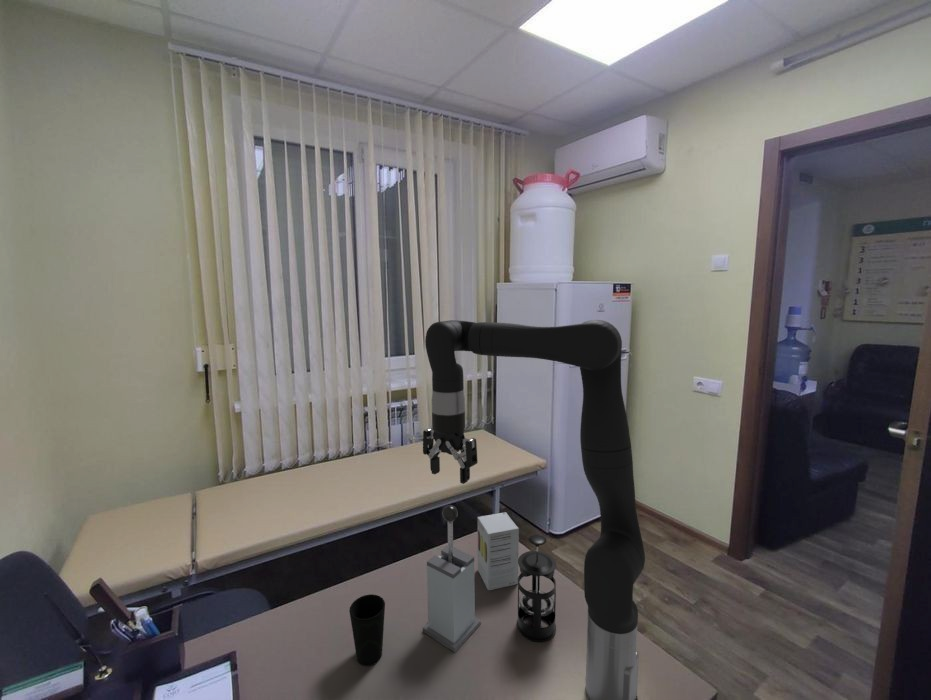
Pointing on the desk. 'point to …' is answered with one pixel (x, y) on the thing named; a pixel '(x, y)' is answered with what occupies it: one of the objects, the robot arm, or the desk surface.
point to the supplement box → (498, 550)
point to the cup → (368, 628)
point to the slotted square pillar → (451, 599)
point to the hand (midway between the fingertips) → (449, 477)
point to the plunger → (450, 531)
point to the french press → (536, 593)
